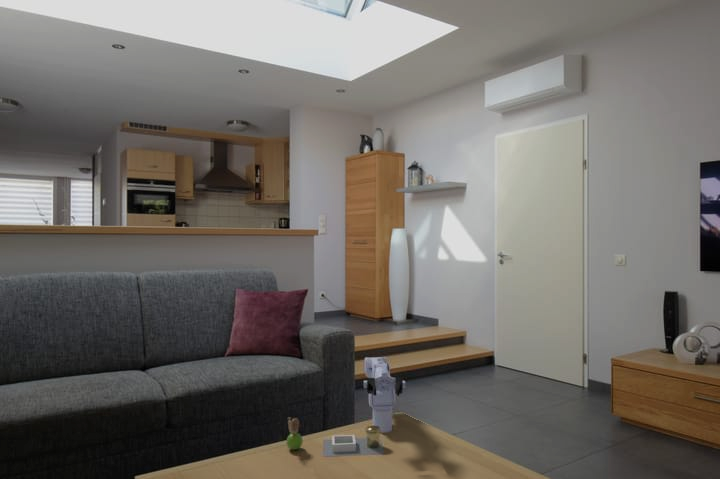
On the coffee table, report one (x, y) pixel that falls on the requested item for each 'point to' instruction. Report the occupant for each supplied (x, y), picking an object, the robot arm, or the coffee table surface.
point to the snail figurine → (294, 435)
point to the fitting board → (348, 446)
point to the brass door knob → (372, 436)
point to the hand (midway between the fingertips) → (386, 392)
